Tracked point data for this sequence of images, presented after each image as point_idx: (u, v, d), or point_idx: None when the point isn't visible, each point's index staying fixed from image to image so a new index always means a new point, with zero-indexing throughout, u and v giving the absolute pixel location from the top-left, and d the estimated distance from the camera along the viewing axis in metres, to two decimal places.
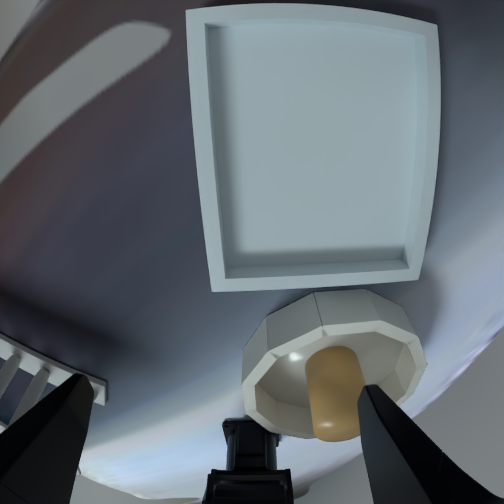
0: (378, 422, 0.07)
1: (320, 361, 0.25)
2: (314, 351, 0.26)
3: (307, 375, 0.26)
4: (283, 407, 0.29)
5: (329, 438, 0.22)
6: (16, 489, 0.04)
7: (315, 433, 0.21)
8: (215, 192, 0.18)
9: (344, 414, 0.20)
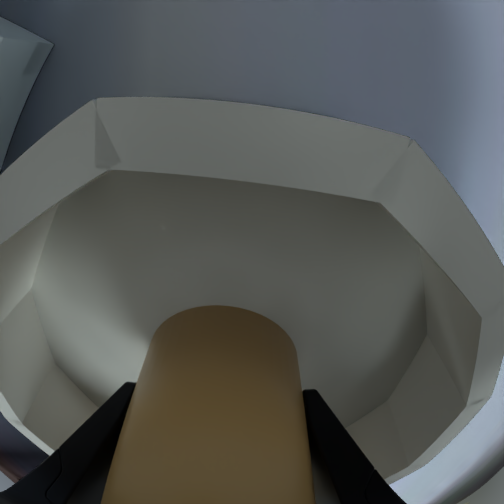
0: (310, 429, 0.07)
1: None
2: None
3: None
4: None
5: None
6: None
7: None
8: None
9: None
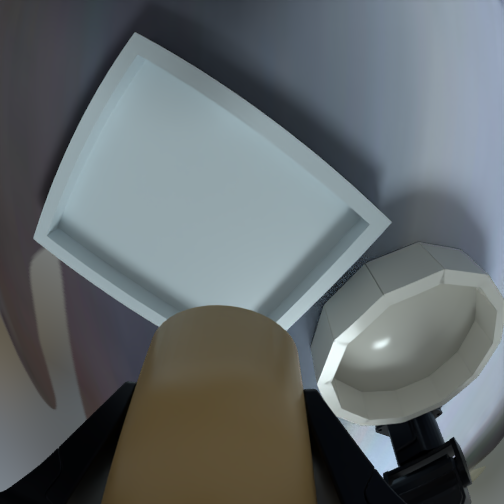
0: (310, 429, 0.07)
1: None
2: (379, 340, 0.23)
3: None
4: (404, 392, 0.26)
5: None
6: None
7: None
8: (165, 318, 0.21)
9: None
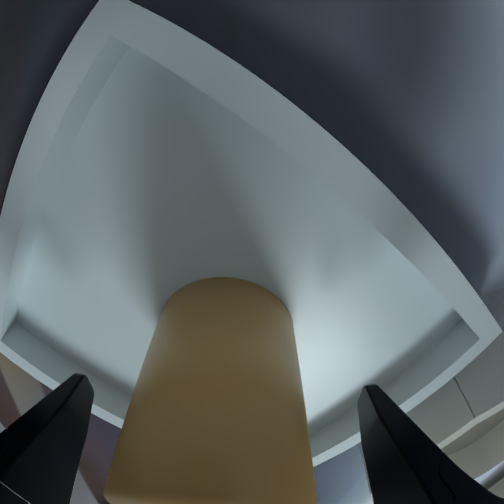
0: (378, 422, 0.07)
1: None
2: None
3: None
4: None
5: None
6: (17, 489, 0.04)
7: None
8: None
9: (122, 499, 0.05)
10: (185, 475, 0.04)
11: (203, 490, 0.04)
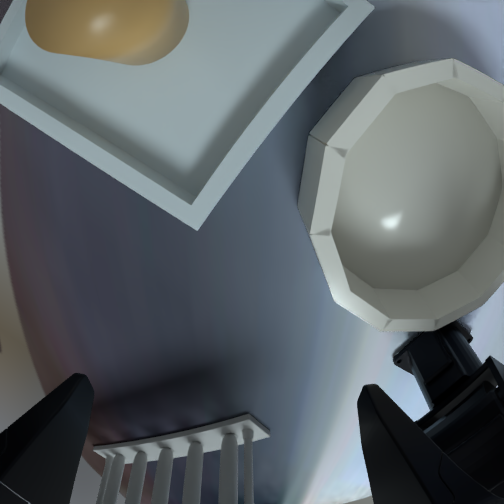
0: (378, 422, 0.07)
1: None
2: (389, 195, 0.17)
3: None
4: (430, 290, 0.20)
5: (96, 28, 0.07)
6: (17, 489, 0.04)
7: (53, 49, 0.07)
8: (97, 146, 0.14)
9: None
10: None
11: None
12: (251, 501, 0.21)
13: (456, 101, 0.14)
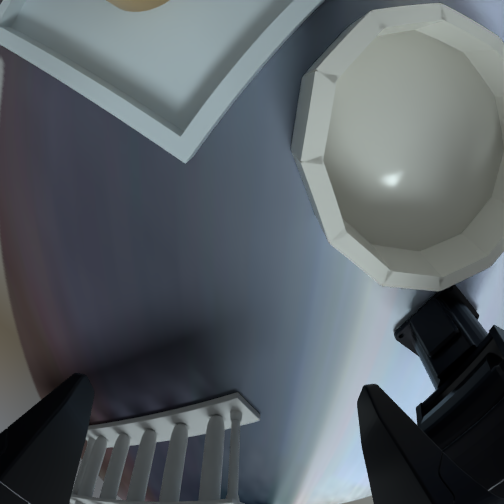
0: (378, 422, 0.07)
1: None
2: (386, 141, 0.16)
3: None
4: (433, 251, 0.19)
5: None
6: (17, 489, 0.04)
7: None
8: (93, 81, 0.13)
9: None
10: None
11: None
12: (235, 488, 0.20)
13: (450, 55, 0.13)
